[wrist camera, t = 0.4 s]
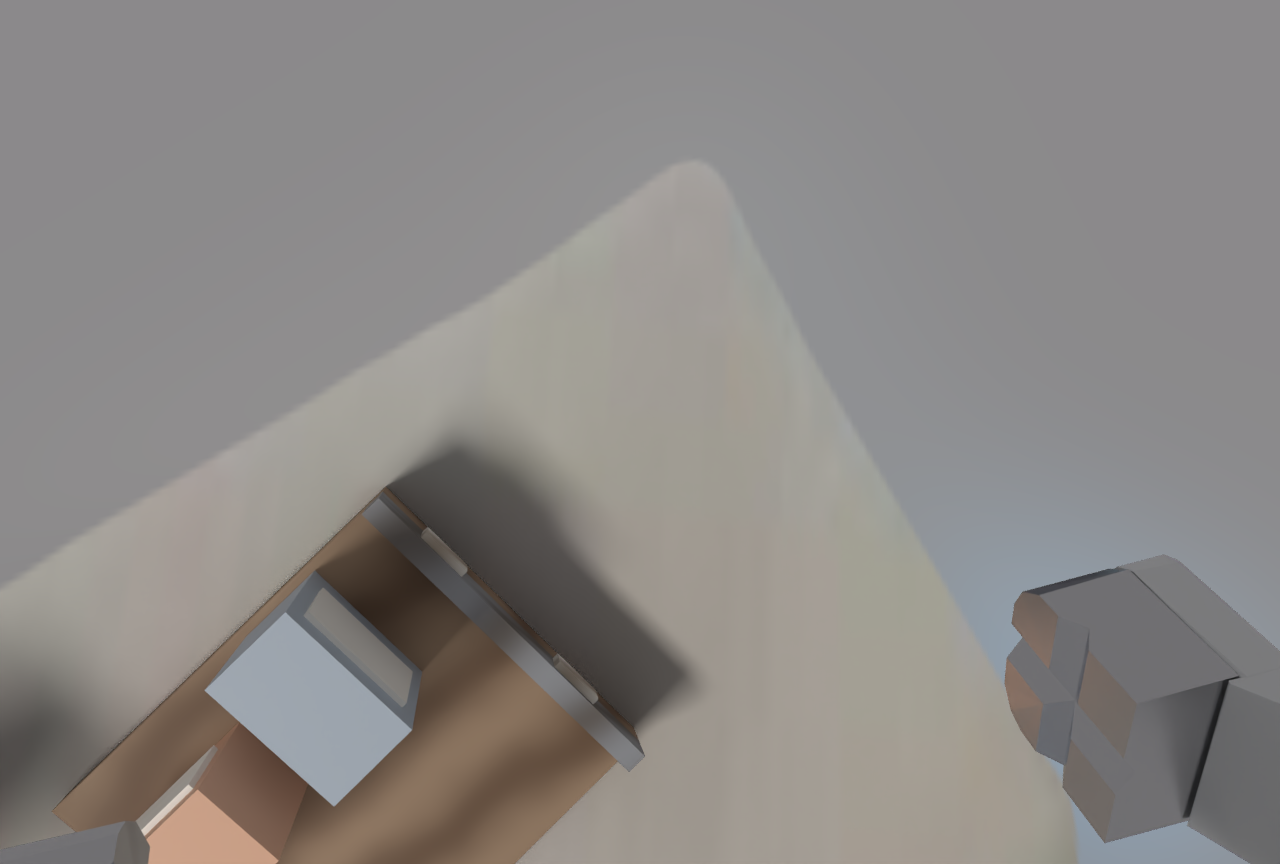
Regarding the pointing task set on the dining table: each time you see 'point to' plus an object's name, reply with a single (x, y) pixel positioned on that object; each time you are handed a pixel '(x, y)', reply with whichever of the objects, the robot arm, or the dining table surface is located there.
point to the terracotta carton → (226, 807)
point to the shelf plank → (443, 724)
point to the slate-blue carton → (321, 688)
